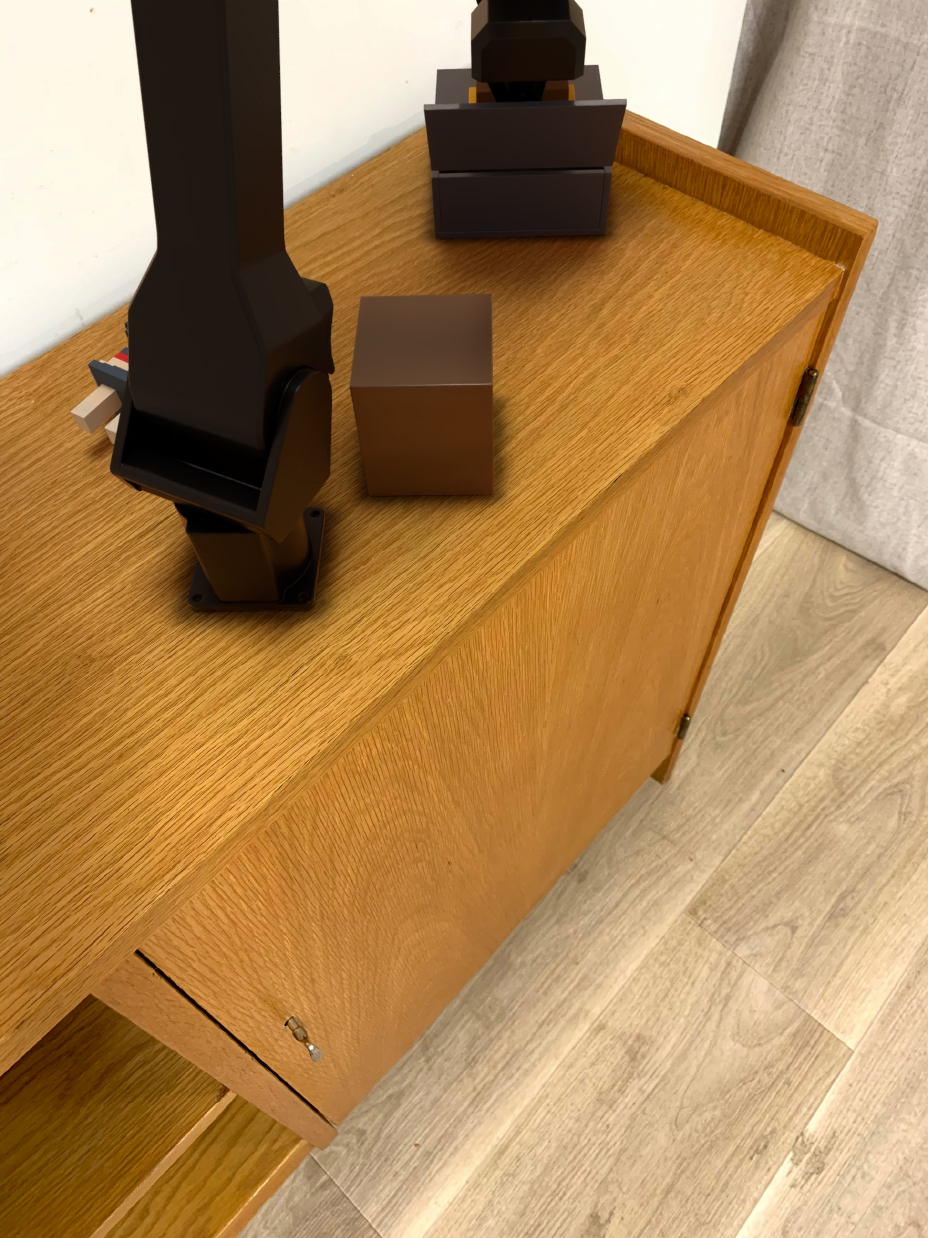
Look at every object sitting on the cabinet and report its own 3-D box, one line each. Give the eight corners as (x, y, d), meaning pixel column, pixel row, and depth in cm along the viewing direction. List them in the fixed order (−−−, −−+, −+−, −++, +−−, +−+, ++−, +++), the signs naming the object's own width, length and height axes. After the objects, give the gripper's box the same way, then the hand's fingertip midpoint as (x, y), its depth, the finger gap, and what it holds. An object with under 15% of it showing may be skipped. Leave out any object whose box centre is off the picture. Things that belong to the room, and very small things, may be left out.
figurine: (28, 380, 50) (200, 237, 57) (59, 434, 53) (218, 294, 60) (145, 434, 47) (311, 278, 54) (170, 488, 51) (323, 335, 58)
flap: (612, 160, 58) (612, 166, 58) (431, 165, 59) (431, 170, 59) (626, 98, 52) (627, 104, 52) (423, 103, 52) (423, 110, 52)
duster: (571, 113, 61) (574, 67, 59) (575, 145, 59) (578, 98, 56) (469, 116, 61) (468, 70, 59) (469, 148, 59) (467, 101, 57)
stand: (493, 494, 50) (492, 384, 43) (369, 496, 50) (348, 386, 43) (493, 406, 53) (492, 292, 47) (377, 408, 54) (359, 295, 47)
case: (605, 234, 63) (613, 161, 58) (435, 238, 63) (430, 165, 59) (592, 135, 70) (599, 63, 65) (440, 139, 70) (436, 68, 66)
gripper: (705, -111, 41) (656, 204, 54) (661, -234, 52) (628, 56, 65) (466, -103, 42) (474, 208, 55) (470, -226, 52) (475, 60, 65)
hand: (520, 126), depth 60 cm, fingers closed on duster, 4 cm apart
